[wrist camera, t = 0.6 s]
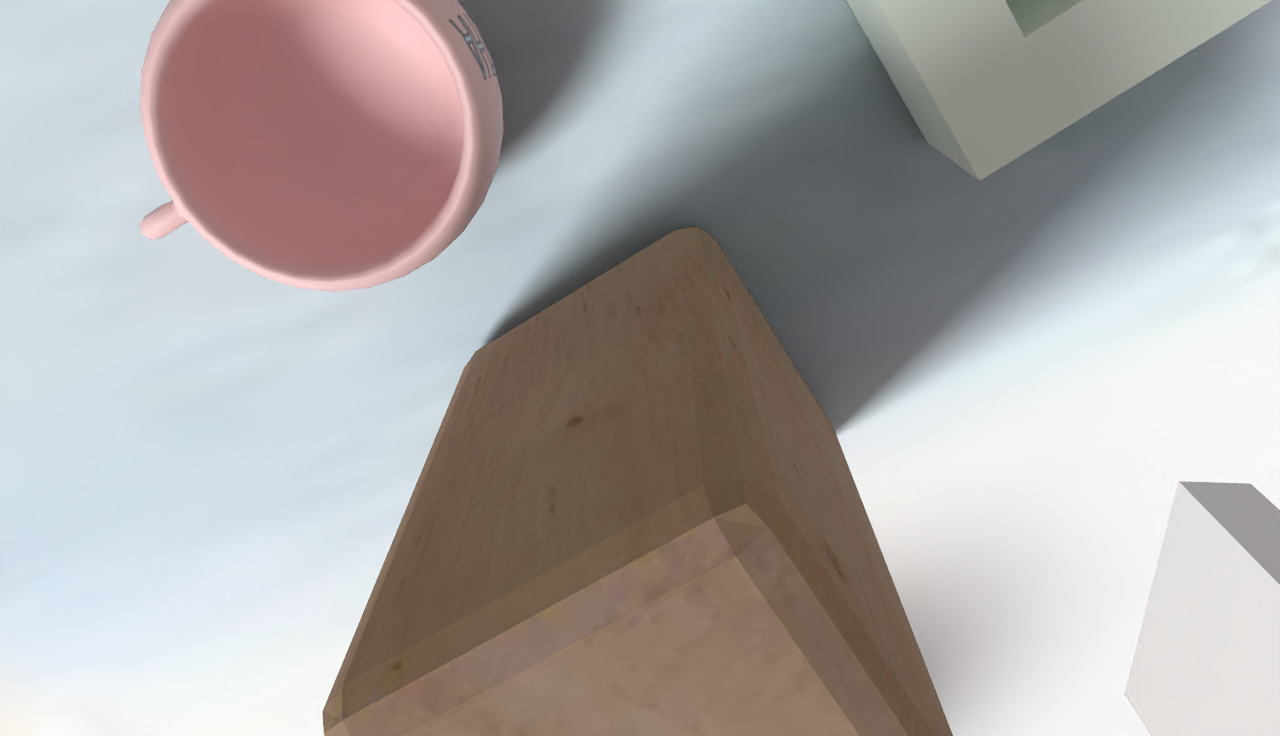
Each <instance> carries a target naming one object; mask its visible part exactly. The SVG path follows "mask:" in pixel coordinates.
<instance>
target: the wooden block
mask: <svg viewBox="0 0 1280 736" xmlns="http://www.w3.org/2000/svg"><path fill="white" fill-rule="evenodd" d="M323 725H324V735H325V736H953V735H952V732H951V730H950V727H949V725H948V722H947V719H946V717H945V714H944V712H943V709H942V707H941V704H940V701H939V699H938V696H937V694H936V691H935V689H934V686H933V683H932V681H931V678H930V676H929V673H928V670H927V668H926V665H925V663H924V660H923V658H922V655H921V652H920V650H919V647H918V645H917V642H916V640H915V637H914V634H913V632H912V629H911V627H910V624H909V622H908V619H907V616H906V614H905V611H904V609H903V606H902V603H901V601H900V598H899V596H898V593H897V591H896V588H895V585H894V583H893V580H892V578H891V575H890V573H889V570H888V567H887V565H886V562H885V560H884V557H883V555H882V552H881V549H880V547H879V544H878V542H877V539H876V536H875V534H874V531H873V529H872V526H871V524H870V521H869V518H868V516H867V513H866V511H865V508H864V506H863V503H862V500H861V498H860V495H859V493H858V490H857V488H856V485H855V482H854V480H853V477H852V475H851V472H850V470H849V467H848V464H847V462H846V459H845V457H844V454H843V451H842V449H841V446H840V444H839V441H838V439H837V436H836V433H835V431H834V428H833V426H832V424H831V423H830V421H829V419H828V418H827V416H826V415H825V413H824V411H823V410H822V408H821V407H820V405H819V403H818V402H817V400H816V399H815V397H814V395H813V394H812V392H811V390H810V389H809V387H808V386H807V384H806V382H805V381H804V379H803V378H802V376H801V374H800V373H799V371H798V370H797V368H796V366H795V365H794V363H793V362H792V360H791V358H790V357H789V355H788V353H787V352H786V350H785V349H784V347H783V345H782V344H781V342H780V341H779V339H778V337H777V336H776V334H775V333H774V331H773V329H772V328H771V326H770V325H769V323H768V321H767V320H766V318H765V317H764V315H763V313H762V312H761V310H760V308H759V307H758V305H757V304H756V302H755V300H754V299H753V297H752V296H751V294H750V292H749V291H748V289H747V288H746V286H745V284H744V283H743V281H742V280H741V278H740V276H739V275H738V273H737V271H736V270H735V268H734V267H733V265H732V263H731V262H730V260H729V259H728V257H727V255H726V254H725V252H724V251H723V249H722V247H721V246H720V244H719V243H718V241H717V239H716V238H714V237H713V236H711V235H710V234H708V233H707V232H706V231H704V230H703V229H701V228H700V227H698V226H695V227H689V228H683V229H677V230H674V231H672V232H670V233H669V234H667V235H665V236H664V237H662V238H661V239H659V240H657V241H656V242H654V243H652V244H651V245H649V246H647V247H646V248H644V249H643V250H641V251H639V252H638V253H636V254H634V255H633V256H631V257H629V258H628V259H626V260H625V261H623V262H621V263H620V264H618V265H616V266H615V267H613V268H611V269H610V270H608V271H607V272H605V273H603V274H602V275H600V276H598V277H597V278H595V279H593V280H592V281H590V282H589V283H587V284H585V285H584V286H582V287H580V288H579V289H577V290H575V291H574V292H572V293H571V294H569V295H567V296H566V297H564V298H562V299H561V300H559V301H557V302H556V303H554V304H553V305H551V306H549V307H548V308H546V309H544V310H543V311H541V312H539V313H538V314H536V315H535V316H533V317H531V318H530V319H528V320H526V321H525V322H523V323H521V324H520V325H518V326H517V327H515V328H513V329H512V330H510V331H508V332H507V333H505V334H503V335H502V336H500V337H499V338H497V339H495V340H494V341H492V342H490V343H489V344H487V345H485V346H484V347H482V348H481V349H479V350H477V351H476V352H475V353H474V355H473V356H472V358H471V359H470V361H469V362H468V364H467V365H466V366H465V368H464V370H463V372H462V375H461V377H460V380H459V382H458V385H457V387H456V389H455V392H454V394H453V397H452V399H451V402H450V404H449V406H448V409H447V411H446V414H445V416H444V418H443V421H442V423H441V426H440V428H439V431H438V433H437V435H436V438H435V440H434V443H433V445H432V448H431V450H430V452H429V455H428V457H427V460H426V462H425V465H424V467H423V469H422V472H421V474H420V477H419V479H418V482H417V484H416V486H415V489H414V491H413V494H412V496H411V499H410V501H409V503H408V506H407V508H406V511H405V513H404V516H403V518H402V520H401V523H400V525H399V528H398V530H397V532H396V535H395V537H394V540H393V542H392V545H391V547H390V549H389V552H388V554H387V557H386V559H385V562H384V564H383V566H382V569H381V571H380V574H379V576H378V579H377V581H376V583H375V586H374V588H373V591H372V593H371V596H370V598H369V600H368V603H367V605H366V608H365V610H364V613H363V615H362V617H361V620H360V622H359V625H358V627H357V629H356V632H355V634H354V637H353V639H352V642H351V644H350V646H349V649H348V651H347V654H346V656H345V659H344V661H343V663H342V666H341V668H340V671H339V673H338V676H337V678H336V680H335V683H334V685H333V688H332V690H331V693H330V695H329V697H328V700H327V702H326V705H325V707H324V710H323Z"/></svg>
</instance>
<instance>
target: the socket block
mask: <svg viewBox="0 0 1280 736" xmlns="http://www.w3.org/2000/svg"><path fill="white" fill-rule="evenodd" d="M1270 1H1272V0H846V2H847V3H848V5H849V7H850V9H851V10H852V12H853V14H854V16H855V17H856V19H857V21H858V23H859V24H860V26H861V28H862V30H863V31H864V33H865V35H866V37H867V38H868V40H869V42H870V44H871V45H872V47H873V49H874V51H875V52H876V54H877V56H878V58H879V59H880V61H881V63H882V65H883V66H884V68H885V70H886V72H887V73H888V75H889V77H890V79H891V80H892V82H893V84H894V86H895V87H896V89H897V91H898V93H899V94H900V96H901V98H902V100H903V101H904V103H905V105H906V107H907V108H908V110H909V112H910V114H911V115H912V117H913V119H914V121H915V122H916V124H917V126H918V128H919V129H920V131H921V133H922V135H923V136H924V138H925V140H926V142H927V143H928V144H929V145H931V146H932V147H934V148H935V149H936V150H938V151H939V152H940V153H942V154H943V155H944V156H946V157H947V158H949V159H950V160H951V161H953V162H954V163H955V164H957V165H958V166H960V167H961V168H962V169H964V170H965V171H966V172H968V173H969V174H971V175H972V176H973V177H975V178H976V179H977V180H979V181H981V180H982V179H984V178H986V177H987V176H989V175H990V174H992V173H994V172H995V171H997V170H999V169H1000V168H1002V167H1003V166H1005V165H1007V164H1008V163H1010V162H1011V161H1013V160H1015V159H1016V158H1018V157H1020V156H1021V155H1023V154H1024V153H1026V152H1028V151H1029V150H1031V149H1033V148H1034V147H1036V146H1037V145H1039V144H1041V143H1042V142H1044V141H1045V140H1047V139H1049V138H1050V137H1052V136H1054V135H1055V134H1057V133H1058V132H1060V131H1062V130H1063V129H1065V128H1067V127H1068V126H1070V125H1071V124H1073V123H1075V122H1076V121H1078V120H1079V119H1081V118H1083V117H1084V116H1086V115H1088V114H1089V113H1091V112H1092V111H1094V110H1096V109H1097V108H1099V107H1100V106H1102V105H1104V104H1105V103H1107V102H1109V101H1110V100H1112V99H1113V98H1115V97H1117V96H1118V95H1120V94H1122V93H1123V92H1125V91H1126V90H1128V89H1130V88H1131V87H1133V86H1134V85H1136V84H1138V83H1139V82H1141V81H1143V80H1144V79H1146V78H1147V77H1149V76H1151V75H1152V74H1154V73H1155V72H1157V71H1159V70H1160V69H1162V68H1164V67H1165V66H1167V65H1168V64H1170V63H1172V62H1173V61H1175V60H1177V59H1178V58H1180V57H1181V56H1183V55H1185V54H1186V53H1188V52H1189V51H1191V50H1193V49H1194V48H1196V47H1198V46H1199V45H1201V44H1202V43H1204V42H1206V41H1207V40H1209V39H1210V38H1212V37H1214V36H1215V35H1217V34H1219V33H1220V32H1222V31H1223V30H1225V29H1227V28H1228V27H1230V26H1232V25H1233V24H1235V23H1236V22H1238V21H1240V20H1241V19H1243V18H1244V17H1246V16H1248V15H1249V14H1251V13H1253V12H1254V11H1256V10H1257V9H1259V8H1261V7H1262V6H1264V5H1266V4H1267V3H1269V2H1270Z"/></svg>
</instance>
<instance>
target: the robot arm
mask: <svg viewBox="0 0 1280 736" xmlns="http://www.w3.org/2000/svg"><path fill="white" fill-rule="evenodd" d="M1125 695H1126V697H1127V698H1128V700H1129V702H1130V703H1131V705H1132V706H1133V708H1134V709H1135V711H1136V713H1137V714H1138V716H1139V717H1140V719H1141V720H1142V722H1143V724H1144V725H1145V727H1146V728H1147V730H1148V731H1149V733H1150V735H1151V736H1280V510H1279V509H1278V508H1277V507H1275V506H1274V505H1273V504H1272V503H1271V502H1270V501H1269V500H1268V499H1267V498H1266V497H1265V496H1263V495H1262V494H1261V493H1260V492H1259V491H1258V490H1257V489H1256V488H1255V487H1254V486H1252V485H1251V484H1242V483H1210V482H1179V483H1178V487H1177V491H1176V494H1175V498H1174V502H1173V506H1172V510H1171V514H1170V518H1169V522H1168V526H1167V530H1166V534H1165V538H1164V541H1163V545H1162V549H1161V553H1160V557H1159V561H1158V565H1157V569H1156V573H1155V577H1154V581H1153V585H1152V588H1151V592H1150V596H1149V600H1148V604H1147V608H1146V612H1145V616H1144V620H1143V624H1142V628H1141V632H1140V635H1139V639H1138V643H1137V647H1136V651H1135V655H1134V659H1133V663H1132V667H1131V671H1130V675H1129V679H1128V682H1127V686H1126V690H1125Z"/></svg>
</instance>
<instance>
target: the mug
mask: <svg viewBox="0 0 1280 736" xmlns="http://www.w3.org/2000/svg"><path fill="white" fill-rule="evenodd" d="M140 109H141V115H142V121H143V127H144V133H145V139H146V144H147V147H148V150H149V152H150V155H151V157H152V160H153V163H154V165H155V168H156V171H157V173H158V176H159V179H160V180H161V182H162V184H163V185H164V187H165V189H166V190H167V192H168V193H169V195H170V197H171V198H172V201H171V202H169V203H166V204H164V205H162V206H160V207H158V208H157V209H155V210H154V211H152V212H151V213H149V214H148V215H146V216H145V217H144V219H143V220H142V222H141V223H140V227H141V231H142V234H143V235H145V236H146V237H148V238H150V239H151V240H152V239H158V238H162V237H164V236H166V235H167V234H169V233H171V232H172V231H174V230H175V229H177V228H179V227H180V226H181V225H183V224H185V223H186V222H188V221H189V222H190V224H191V225H192V226H193V227H194V228H195V229H196V230H197V231H198V232H199V234H200V235H201V236H202V237H203V238H204V239H205V240H206V241H208V242H209V243H210V244H212V245H213V246H214V247H216V248H217V249H218V250H219V251H221V252H222V253H223V254H225V255H226V256H227V257H228V258H230V259H231V260H232V261H234V262H236V263H238V264H240V265H242V266H243V267H245V268H247V269H249V270H251V271H253V272H255V273H257V274H259V275H261V276H263V277H265V278H268V279H271V280H274V281H278V282H281V283H284V284H288V285H291V286H294V287H298V288H304V289H314V290H324V291H343V290H353V289H363V288H369V287H372V286H376V285H379V284H382V283H385V282H388V281H391V280H394V279H397V278H400V277H403V276H405V275H407V274H409V273H411V272H412V271H414V270H416V269H418V268H419V267H421V266H423V265H424V264H426V263H428V262H430V261H431V260H433V259H435V258H436V257H437V256H438V255H439V254H440V253H441V252H442V251H443V250H444V249H445V248H447V247H448V246H449V245H450V244H451V243H452V242H453V241H454V240H455V239H456V238H457V237H458V236H459V235H460V234H461V233H462V232H463V231H464V230H465V228H466V227H467V225H468V224H469V223H470V221H471V220H472V218H473V217H474V215H475V214H476V212H477V211H478V209H479V208H480V206H481V205H482V204H483V202H484V199H485V197H486V195H487V192H488V190H489V187H490V184H491V182H492V179H493V177H494V174H495V172H496V169H497V167H498V163H499V157H500V151H501V145H502V138H503V132H504V128H503V106H502V94H501V90H500V86H499V82H498V78H497V74H496V70H495V66H494V62H493V59H492V57H491V55H490V53H489V51H488V49H487V47H486V44H485V42H484V40H483V38H482V36H481V34H480V32H479V30H478V28H477V26H476V24H475V23H474V22H473V20H472V19H471V18H470V16H469V15H468V14H467V12H466V11H465V10H464V8H463V7H462V6H461V4H460V3H459V2H458V0H171V1H170V2H169V3H168V5H167V7H166V9H165V10H164V12H163V14H162V16H161V18H160V20H159V22H158V23H157V25H156V27H155V29H154V31H153V33H152V35H151V38H150V42H149V45H148V49H147V53H146V56H145V60H144V64H143V68H142V78H141V101H140Z"/></svg>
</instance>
